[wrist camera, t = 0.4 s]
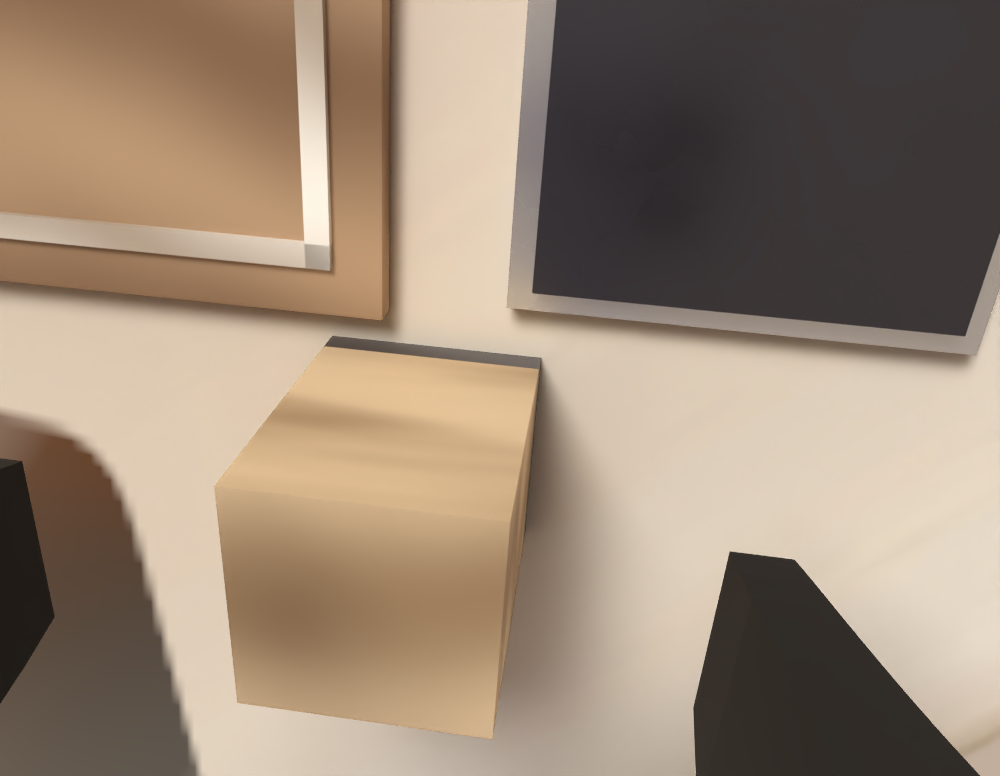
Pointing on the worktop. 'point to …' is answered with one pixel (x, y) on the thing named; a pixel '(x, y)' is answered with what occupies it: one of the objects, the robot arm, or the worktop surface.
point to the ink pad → (763, 167)
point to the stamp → (382, 536)
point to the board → (199, 150)
